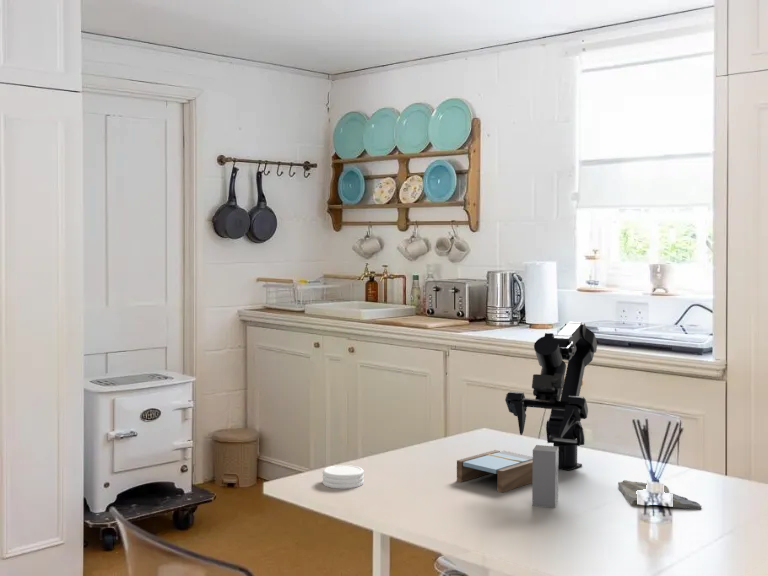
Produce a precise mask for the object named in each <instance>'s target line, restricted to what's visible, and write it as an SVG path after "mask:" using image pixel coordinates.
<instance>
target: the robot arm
mask: <svg viewBox="0 0 768 576" xmlns="http://www.w3.org/2000/svg"><path fill="white" fill-rule="evenodd" d="M597 342H598V341H597V338H596V335H595V332H593V331H591V330H590V329H589V328H587V326H586V323H585V322H584V323H583V322H580V321H568V322H565V324H564V326H563V328H562V329H561V330H560V331H558V333H557V334H554V333H553V332H545V333H544V336H542V337H539V338H538V339H537V340H536V341H535V342H534V343H533V348H534V352H535V355H536V356H535V357H536V358H537V361H538V365H539V366H540V367H541V371H540V373H539V374H533V375H532V383H531V389H533V390H532V393H533V396H534V397H535V398H530V397H529V398H528V397H526V396H525V393H524V392H521V391H509V392H507V394H505V395H506V396H505V400H504V401H505V404H506V406H507V409H508V412H509V413H511V414H513V416H514V417H516V418H517V423H518V429H519V434H520V435H521V436H522V435H523V433H524V432H525V431H524V430H525V424H526V420H527V419H526V418H527V414H526V412H527V408H539V409H545V410H550V415H549V418H548V419H547V420H546V426H545V431H546V440H547V442H546V443H547V444H550V443H551V444H553V445H552V446H557V447H559V458H558V469H560V470H561V469H562V470H566V471H571V470H574V469H578V468H580V467H583V463H579V462H578V447H581V446H584V445H585V433H584V428H583V426H582V425H583V424H582V422H581V421H582V420H586V419H587V418H588V414H589V408H588V402H587V399H586V397H584V396H581V395H580V394H581V388H582V383H583V379H584V378H583V377H584V375H585V374H584V373H585V369H586V366H588V365H589V364H590V363H591V362H592V361H593V359H594V355H595V353H597V349H598V343H597ZM565 361H567V364H566V362H565Z"/></svg>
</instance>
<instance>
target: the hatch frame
mask: <svg viewBox="0 0 768 576" xmlns="http://www.w3.org/2000/svg"><path fill="white" fill-rule="evenodd" d="M497 452H501V450H497V449H494V450H490V451H486V452H482V453H479V454H475V455H472V456H468V457H465V458H461V459H457V460H456V481H457V482H459V483H460V482H461V483H463V482H466V481H469V480H472V479H476V478H479V477H482V476H485V475H489V474H491V473H490V472H486V471H482V470H478V469H474V468H469V467H465V466H463V462H465V461H468V460H472V459H476V458H479V457H483V456H486V455H488V454H494V453H497ZM496 475H497V483H496V484H497V489H496V490H497V492H499V493H504V492H508V491H511V490H513V489H517V488H520V487H523V486H526V485H529V484H532V476H533V460H530V461H526V462H523V463H520V464H516V465H513V466H509V467H506V468H503V469H499V470H498V472H497V474H496Z"/></svg>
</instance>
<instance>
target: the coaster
mask: <svg viewBox="0 0 768 576" xmlns="http://www.w3.org/2000/svg"><path fill="white" fill-rule="evenodd" d="M364 473H365V470H364V469H363V468H362V467H360V466H356V465H350V464H337V465H332V466H327V467H325V468H324V469H322V477H321V478H322V485H324V486H325V487H327V488H332V489H338V490H344V489H345V490H348V489H355V488H358V487H361V486H362V485H364V483H365V480H364V478H365V476H364Z"/></svg>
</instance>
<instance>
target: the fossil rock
mask: <svg viewBox="0 0 768 576" xmlns="http://www.w3.org/2000/svg"><path fill="white" fill-rule="evenodd" d="M617 485H618V490H619V492H621V493H622V494H623V496H624V498H625V501H626V502H627V503H628V504H629V505H630V506H638V505H637V494H636V491H637V490H643V489H646V485H647V482H639V481H631V480H625V479H624V480H622V481H618V483H617ZM663 485H664V484H663ZM664 492H665V493H670V492H669V487H668V486H667V485H664ZM672 494H673V509H674V508H676V509H693V510H694V509H697V510H702V505H701V504H700V503H698V502H697V501H693V500H690V499H688V498H687V497H684V496H681V495H679V494H675V493H672Z"/></svg>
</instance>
